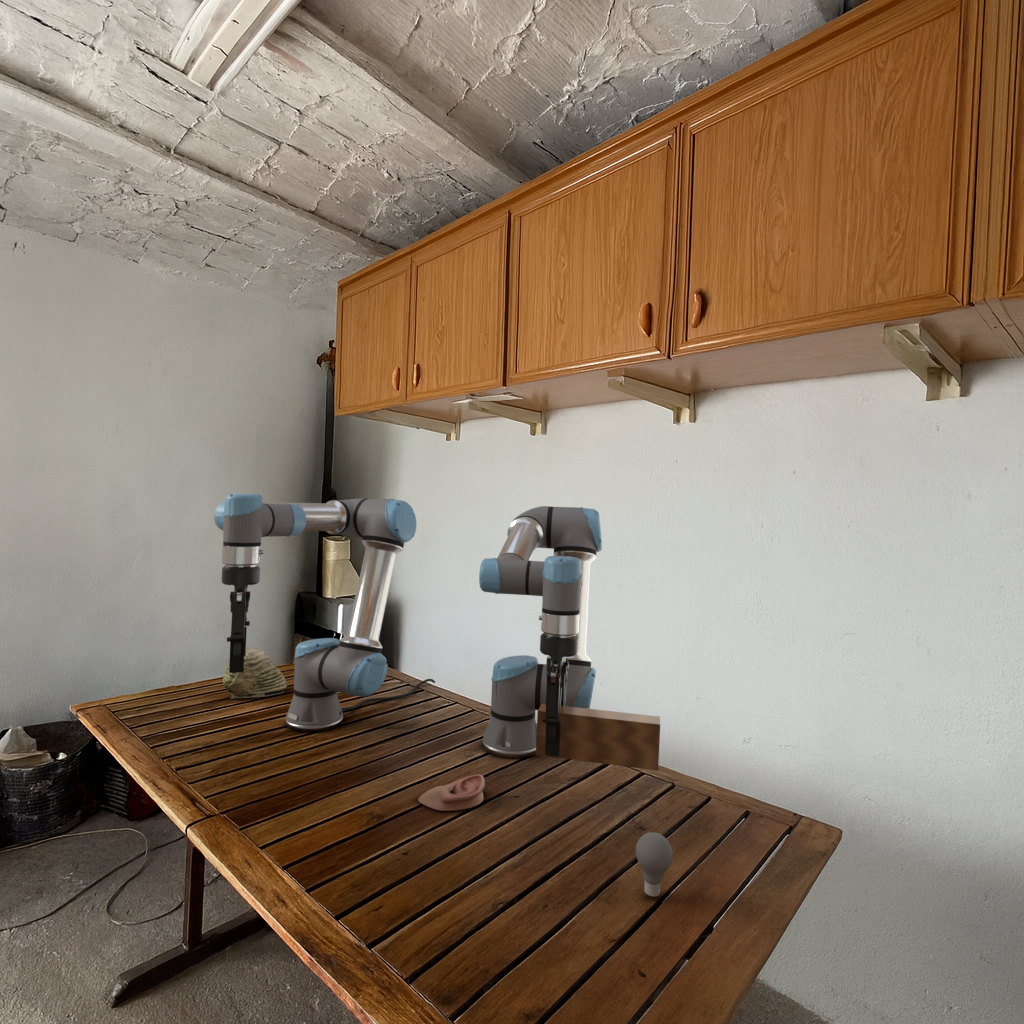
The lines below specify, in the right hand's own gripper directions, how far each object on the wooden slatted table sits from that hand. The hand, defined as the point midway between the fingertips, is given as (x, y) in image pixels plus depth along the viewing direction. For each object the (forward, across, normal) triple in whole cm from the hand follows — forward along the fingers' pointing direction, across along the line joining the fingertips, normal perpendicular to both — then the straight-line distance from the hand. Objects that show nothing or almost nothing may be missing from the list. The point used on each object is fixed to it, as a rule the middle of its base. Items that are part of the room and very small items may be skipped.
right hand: (554, 749), depth 127 cm
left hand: (-12, +4, -69) cm, 70 cm away
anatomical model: (+15, -4, -22) cm, 27 cm away
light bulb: (+15, +18, +20) cm, 31 cm away
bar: (+1, 0, +8) cm, 9 cm away
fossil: (+14, -52, -101) cm, 115 cm away
